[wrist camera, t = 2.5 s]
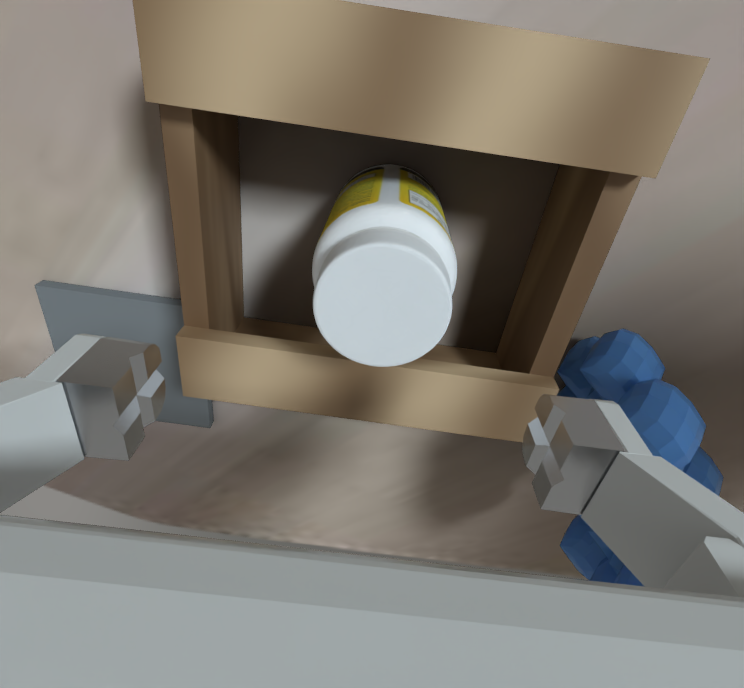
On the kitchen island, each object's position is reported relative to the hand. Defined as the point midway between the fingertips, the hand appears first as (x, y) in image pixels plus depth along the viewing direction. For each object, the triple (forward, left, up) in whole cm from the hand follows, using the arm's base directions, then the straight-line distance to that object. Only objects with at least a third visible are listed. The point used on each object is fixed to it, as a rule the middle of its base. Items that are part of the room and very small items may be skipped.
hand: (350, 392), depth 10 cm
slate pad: (+12, +9, -12) cm, 19 cm away
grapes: (-13, +7, -12) cm, 19 cm away
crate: (-1, 0, -12) cm, 12 cm away
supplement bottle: (-1, 0, -12) cm, 12 cm away
